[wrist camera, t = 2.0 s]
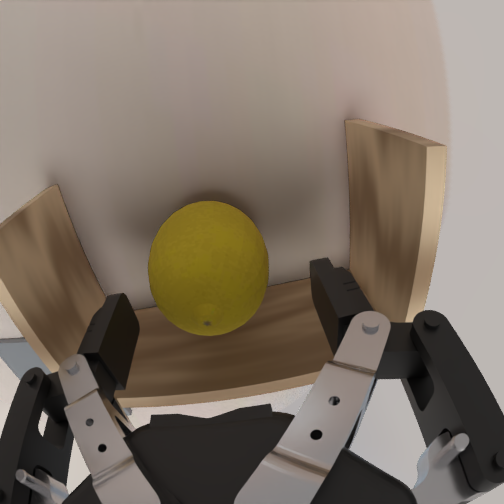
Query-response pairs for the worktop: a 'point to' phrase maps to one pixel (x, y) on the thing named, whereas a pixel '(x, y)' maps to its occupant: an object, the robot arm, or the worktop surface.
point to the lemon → (208, 268)
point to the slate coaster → (24, 358)
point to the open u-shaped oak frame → (275, 298)
